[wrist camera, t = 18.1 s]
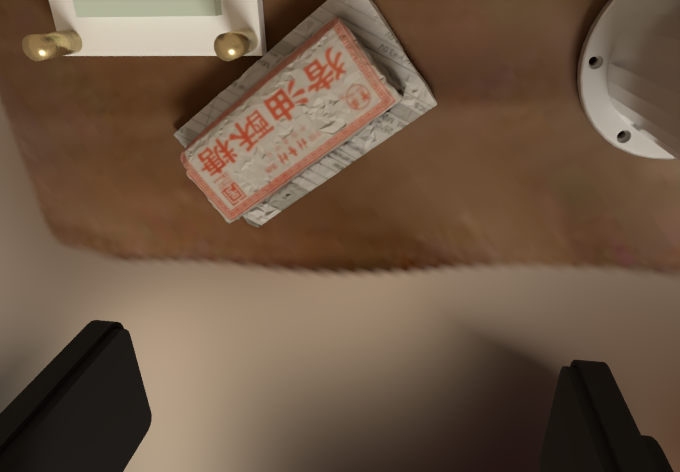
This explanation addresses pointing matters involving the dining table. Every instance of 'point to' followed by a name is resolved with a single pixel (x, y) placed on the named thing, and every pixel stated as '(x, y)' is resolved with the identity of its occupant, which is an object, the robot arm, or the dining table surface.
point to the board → (146, 8)
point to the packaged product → (303, 112)
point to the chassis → (153, 34)
